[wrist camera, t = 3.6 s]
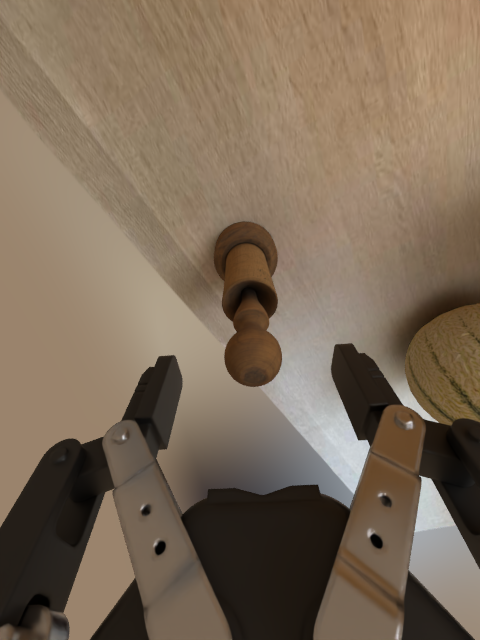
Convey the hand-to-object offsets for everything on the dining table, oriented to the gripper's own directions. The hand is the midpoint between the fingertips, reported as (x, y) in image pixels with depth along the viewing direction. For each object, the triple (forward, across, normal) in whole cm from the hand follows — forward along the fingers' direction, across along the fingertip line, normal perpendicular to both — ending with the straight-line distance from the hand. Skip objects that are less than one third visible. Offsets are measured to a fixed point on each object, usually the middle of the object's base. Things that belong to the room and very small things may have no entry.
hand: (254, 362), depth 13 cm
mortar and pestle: (+17, 0, 0) cm, 17 cm away
